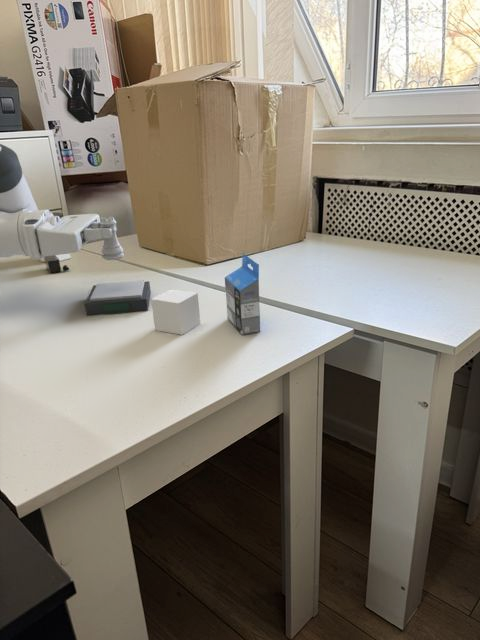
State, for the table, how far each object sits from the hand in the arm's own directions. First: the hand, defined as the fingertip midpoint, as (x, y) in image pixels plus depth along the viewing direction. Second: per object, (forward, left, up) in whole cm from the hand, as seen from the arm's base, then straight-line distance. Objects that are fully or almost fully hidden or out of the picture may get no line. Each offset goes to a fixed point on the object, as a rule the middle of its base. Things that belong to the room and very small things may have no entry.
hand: (113, 230), depth 100 cm
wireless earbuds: (-20, +30, -15) cm, 39 cm away
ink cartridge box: (+23, -18, -15) cm, 33 cm away
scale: (-1, 0, -15) cm, 15 cm away
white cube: (+11, -16, -15) cm, 25 cm away
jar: (-23, +43, -15) cm, 51 cm away
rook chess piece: (-1, 0, -6) cm, 6 cm away
